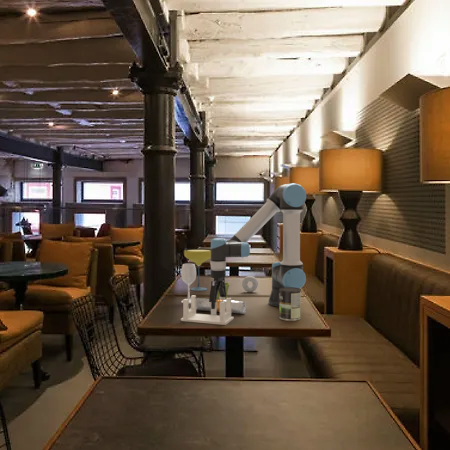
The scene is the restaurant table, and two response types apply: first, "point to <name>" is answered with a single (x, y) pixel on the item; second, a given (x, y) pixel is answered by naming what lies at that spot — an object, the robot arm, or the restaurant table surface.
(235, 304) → the air tube
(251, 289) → the donut
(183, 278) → the wineglass
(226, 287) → the plant pot
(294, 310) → the coffee can
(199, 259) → the cocktail glass
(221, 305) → the collar stand
